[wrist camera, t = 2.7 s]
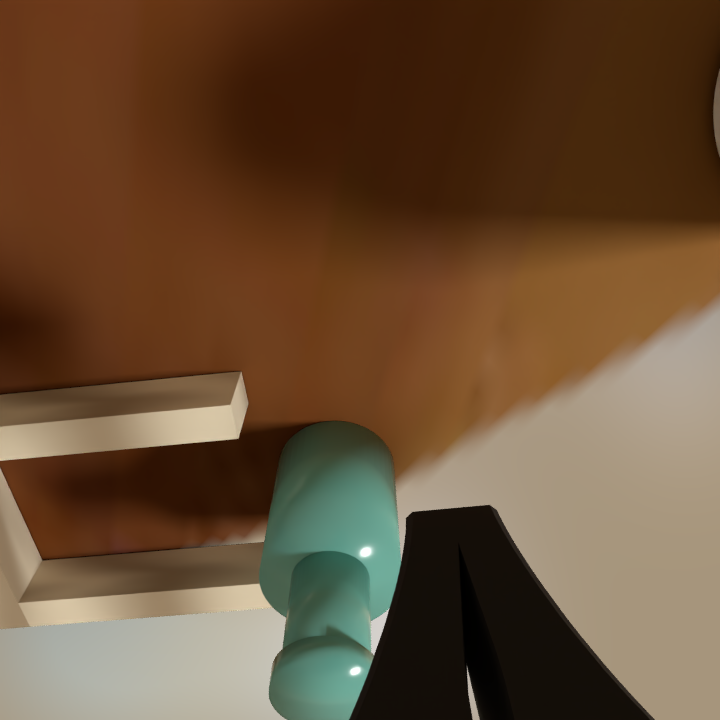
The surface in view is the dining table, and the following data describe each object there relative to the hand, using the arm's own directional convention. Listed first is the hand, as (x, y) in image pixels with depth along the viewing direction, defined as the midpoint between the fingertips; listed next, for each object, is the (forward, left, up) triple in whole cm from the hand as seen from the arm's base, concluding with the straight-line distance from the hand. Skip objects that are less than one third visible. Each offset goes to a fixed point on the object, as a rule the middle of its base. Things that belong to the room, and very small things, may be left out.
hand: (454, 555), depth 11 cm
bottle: (-3, -6, -11) cm, 13 cm away
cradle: (-10, -6, -11) cm, 16 cm away
